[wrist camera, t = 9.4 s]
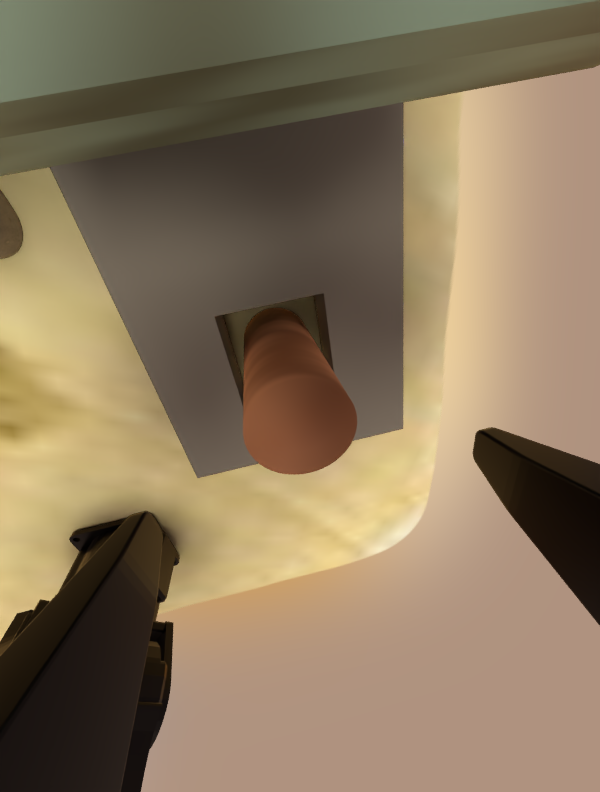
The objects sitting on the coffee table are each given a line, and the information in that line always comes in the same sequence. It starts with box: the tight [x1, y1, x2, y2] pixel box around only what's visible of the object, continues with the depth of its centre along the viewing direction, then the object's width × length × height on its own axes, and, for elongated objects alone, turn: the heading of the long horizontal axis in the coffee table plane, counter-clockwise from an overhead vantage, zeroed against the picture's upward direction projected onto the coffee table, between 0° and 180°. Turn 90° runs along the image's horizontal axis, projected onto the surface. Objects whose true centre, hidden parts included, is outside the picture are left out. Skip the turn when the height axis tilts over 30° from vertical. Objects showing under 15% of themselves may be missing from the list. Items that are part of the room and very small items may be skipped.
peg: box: [243, 308, 357, 474], centre depth 15 cm, size 4×4×10 cm
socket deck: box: [50, 102, 403, 478], centre depth 16 cm, size 14×22×3 cm, turn 10°
